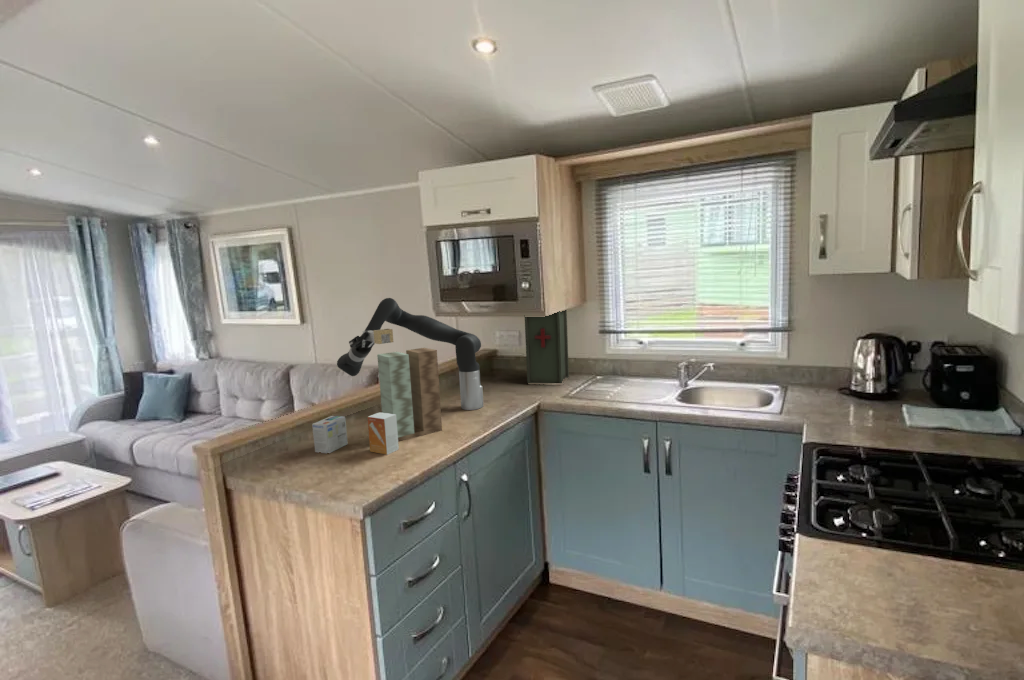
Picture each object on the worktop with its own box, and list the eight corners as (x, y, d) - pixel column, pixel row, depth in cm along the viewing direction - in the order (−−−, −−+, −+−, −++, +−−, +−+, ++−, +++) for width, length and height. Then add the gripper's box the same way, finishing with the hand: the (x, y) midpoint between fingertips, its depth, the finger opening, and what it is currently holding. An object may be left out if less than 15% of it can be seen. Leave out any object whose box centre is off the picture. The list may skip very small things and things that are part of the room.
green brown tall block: (429, 425, 220) (424, 347, 215) (442, 430, 212) (436, 350, 207) (383, 436, 208) (377, 354, 203) (395, 442, 200) (388, 357, 195)
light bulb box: (334, 442, 203) (331, 415, 201) (348, 444, 200) (346, 416, 199) (314, 452, 193) (311, 423, 191) (329, 454, 190) (326, 424, 189)
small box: (369, 452, 190) (366, 416, 188) (382, 446, 196) (379, 411, 194) (387, 455, 186) (384, 418, 184) (399, 449, 192) (396, 414, 190)
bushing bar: (374, 338, 221) (373, 326, 220) (393, 342, 207) (392, 329, 206) (360, 340, 217) (359, 327, 217) (378, 344, 203) (377, 331, 203)
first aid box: (568, 378, 296) (566, 305, 291) (561, 385, 279) (559, 308, 273) (536, 377, 302) (533, 306, 296) (527, 384, 284) (524, 309, 279)
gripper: (341, 344, 224) (352, 325, 211) (373, 340, 233) (386, 322, 220) (345, 360, 222) (357, 343, 209) (378, 355, 231) (391, 338, 218)
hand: (372, 332), depth 215 cm, fingers closed on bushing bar, 3 cm apart
